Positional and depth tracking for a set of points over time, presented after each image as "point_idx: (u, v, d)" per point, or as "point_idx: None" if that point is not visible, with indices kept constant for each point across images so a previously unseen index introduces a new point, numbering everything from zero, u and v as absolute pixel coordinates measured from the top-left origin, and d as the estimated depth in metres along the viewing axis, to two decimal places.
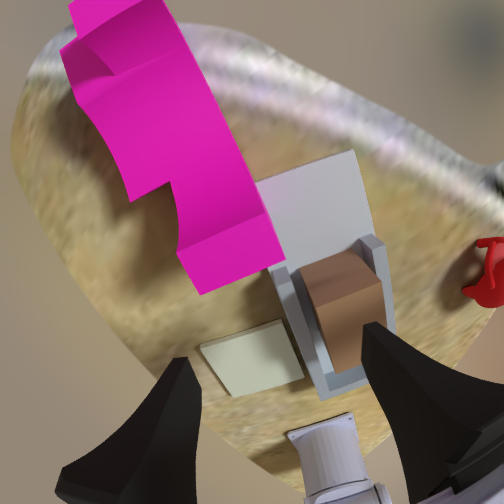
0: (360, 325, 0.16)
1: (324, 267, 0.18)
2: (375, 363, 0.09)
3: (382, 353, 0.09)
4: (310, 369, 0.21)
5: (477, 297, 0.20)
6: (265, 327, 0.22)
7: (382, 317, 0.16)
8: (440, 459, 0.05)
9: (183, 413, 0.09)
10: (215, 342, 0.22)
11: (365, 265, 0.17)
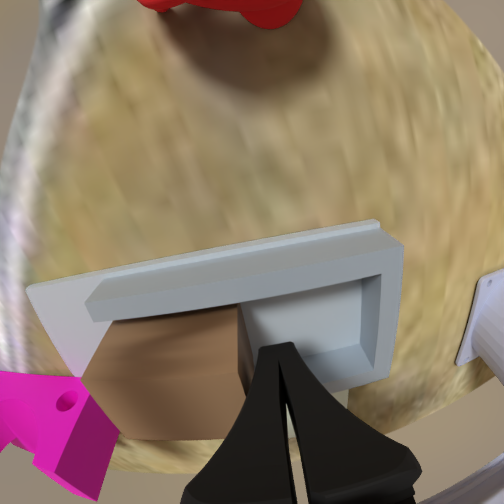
0: (154, 410, 0.09)
1: None
2: (283, 385, 0.09)
3: (283, 377, 0.09)
4: None
5: (265, 3, 0.07)
6: None
7: (140, 385, 0.08)
8: None
9: (282, 401, 0.09)
10: None
11: (99, 346, 0.10)
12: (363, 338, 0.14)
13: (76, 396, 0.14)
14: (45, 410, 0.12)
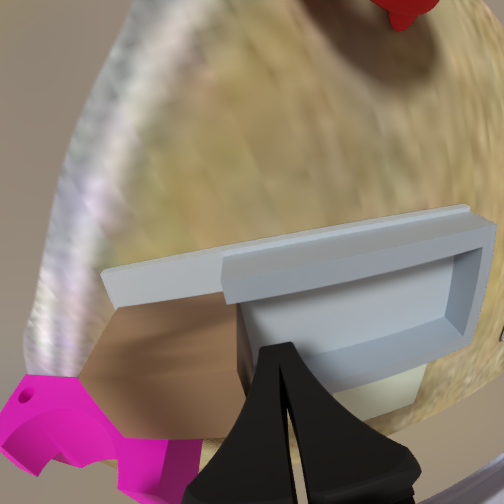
0: (152, 409, 0.09)
1: None
2: (283, 385, 0.09)
3: (283, 377, 0.09)
4: (408, 369, 0.13)
5: (415, 12, 0.06)
6: None
7: (139, 383, 0.08)
8: None
9: (283, 401, 0.09)
10: None
11: (97, 344, 0.10)
12: (451, 310, 0.13)
13: None
14: None
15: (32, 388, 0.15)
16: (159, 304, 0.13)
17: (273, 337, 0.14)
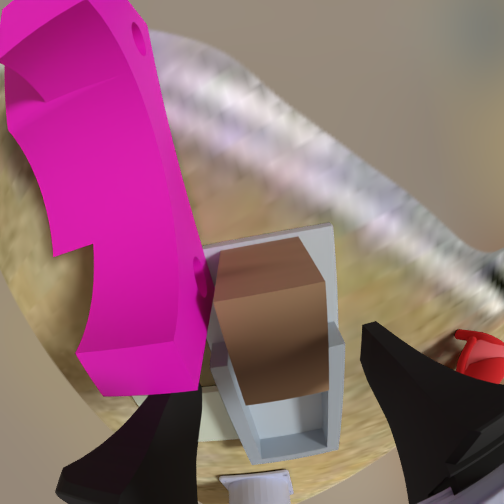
0: (285, 344, 0.11)
1: (252, 254, 0.13)
2: (374, 363, 0.09)
3: (381, 353, 0.09)
4: (242, 440, 0.18)
5: None
6: None
7: (322, 339, 0.11)
8: (439, 459, 0.05)
9: (183, 412, 0.09)
10: None
11: (308, 258, 0.12)
12: (269, 442, 0.21)
13: None
14: (185, 252, 0.11)
15: (141, 46, 0.10)
16: None
17: None
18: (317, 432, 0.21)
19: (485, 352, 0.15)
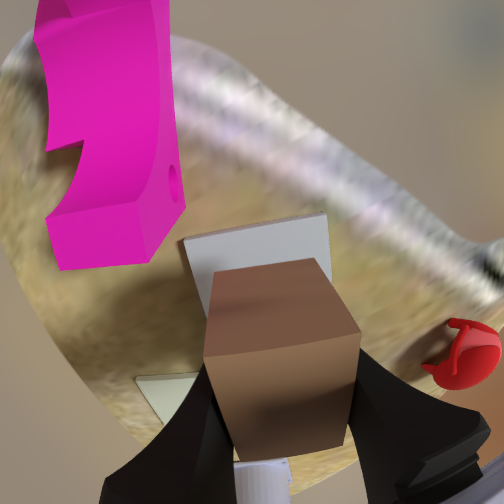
0: (297, 405, 0.08)
1: (255, 280, 0.10)
2: None
3: None
4: None
5: (435, 377, 0.19)
6: None
7: (344, 397, 0.08)
8: (390, 481, 0.05)
9: None
10: (151, 378, 0.20)
11: (333, 291, 0.09)
12: None
13: None
14: (164, 153, 0.11)
15: None
16: None
17: None
18: None
19: (478, 340, 0.17)
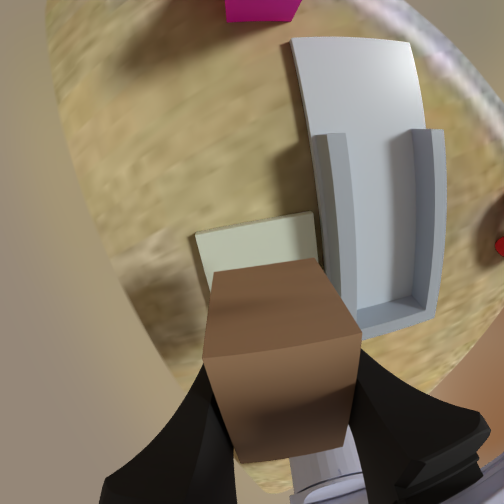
0: (298, 406, 0.07)
1: (256, 280, 0.10)
2: None
3: None
4: (342, 283, 0.16)
5: None
6: (290, 216, 0.17)
7: (345, 398, 0.08)
8: (390, 481, 0.05)
9: None
10: (219, 229, 0.17)
11: (333, 292, 0.09)
12: (358, 313, 0.19)
13: None
14: None
15: None
16: None
17: (362, 154, 0.15)
18: (408, 298, 0.19)
19: None
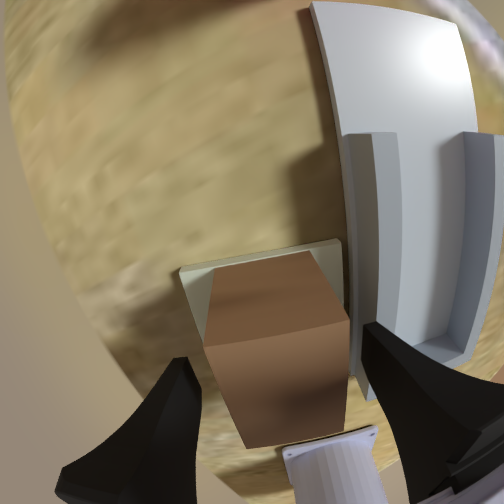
0: (295, 391, 0.08)
1: (253, 274, 0.11)
2: (375, 363, 0.09)
3: (382, 353, 0.09)
4: None
5: None
6: (310, 247, 0.12)
7: (340, 383, 0.08)
8: (440, 459, 0.05)
9: (183, 412, 0.09)
10: (211, 264, 0.12)
11: (325, 282, 0.09)
12: None
13: None
14: None
15: None
16: None
17: (407, 163, 0.11)
18: (443, 338, 0.14)
19: None
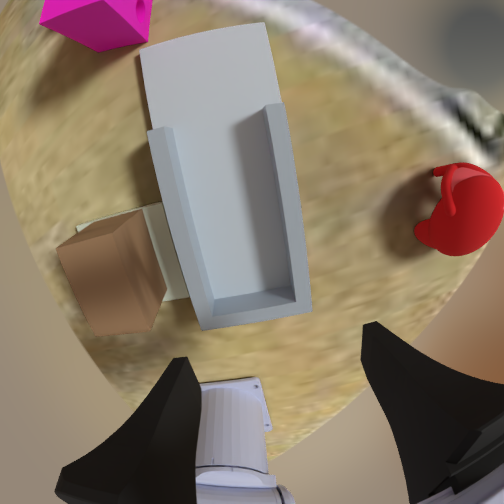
0: (101, 282, 0.14)
1: (103, 222, 0.17)
2: (375, 363, 0.09)
3: (382, 353, 0.09)
4: (183, 267, 0.17)
5: (433, 233, 0.17)
6: (143, 207, 0.18)
7: (124, 280, 0.14)
8: (440, 459, 0.05)
9: (183, 413, 0.09)
10: (92, 220, 0.18)
11: (125, 221, 0.15)
12: (225, 301, 0.20)
13: (137, 16, 0.12)
14: None
15: None
16: (150, 243, 0.18)
17: (204, 143, 0.16)
18: (285, 289, 0.20)
19: (471, 176, 0.14)
